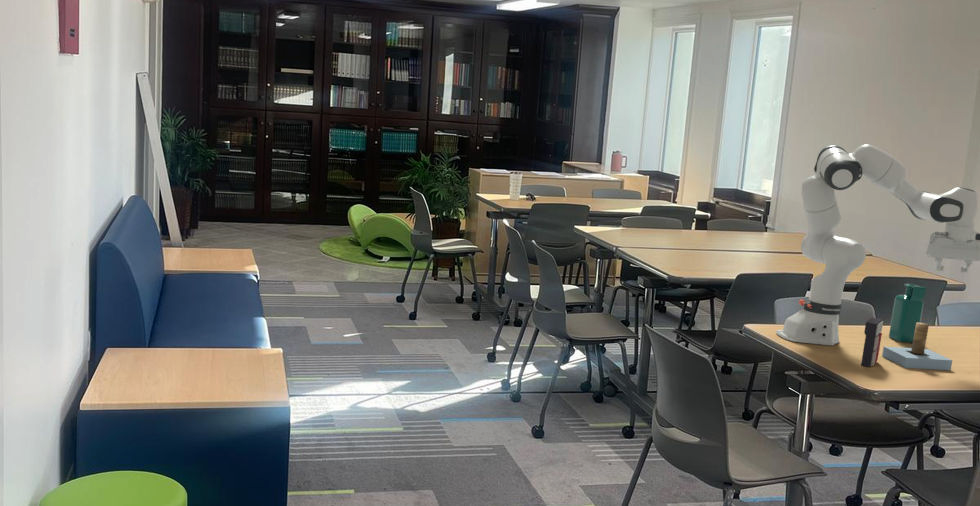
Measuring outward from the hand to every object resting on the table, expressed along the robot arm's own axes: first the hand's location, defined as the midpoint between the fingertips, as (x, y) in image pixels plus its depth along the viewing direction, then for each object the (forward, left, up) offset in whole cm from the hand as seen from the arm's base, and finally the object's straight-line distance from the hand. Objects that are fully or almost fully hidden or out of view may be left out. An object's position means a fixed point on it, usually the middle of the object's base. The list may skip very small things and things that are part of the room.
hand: (951, 271), depth 329 cm
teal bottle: (0, +21, -31) cm, 38 cm away
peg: (-16, -12, -31) cm, 37 cm away
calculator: (-36, -16, -31) cm, 50 cm away
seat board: (-16, -12, -31) cm, 37 cm away
